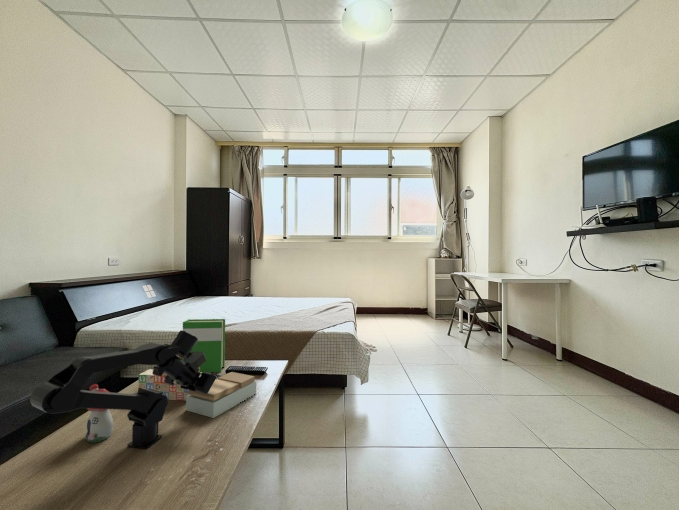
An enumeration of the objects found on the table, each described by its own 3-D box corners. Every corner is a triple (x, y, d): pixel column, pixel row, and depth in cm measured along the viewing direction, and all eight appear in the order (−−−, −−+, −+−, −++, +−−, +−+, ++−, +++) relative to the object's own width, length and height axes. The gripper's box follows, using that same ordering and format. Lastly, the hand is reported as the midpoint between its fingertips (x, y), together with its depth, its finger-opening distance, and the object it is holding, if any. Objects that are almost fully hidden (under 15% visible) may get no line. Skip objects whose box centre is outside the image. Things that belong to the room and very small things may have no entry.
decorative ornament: (83, 434, 98) (84, 384, 98) (109, 426, 102) (110, 379, 103) (87, 447, 91) (88, 393, 91) (115, 438, 96) (116, 387, 96)
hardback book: (224, 367, 160) (225, 318, 161) (220, 372, 153) (221, 321, 153) (187, 368, 158) (188, 319, 158) (181, 373, 151) (182, 322, 151)
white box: (213, 418, 108) (213, 397, 108) (186, 410, 114) (186, 390, 114) (256, 393, 128) (256, 376, 128) (231, 388, 134) (231, 371, 134)
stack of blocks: (137, 398, 123) (138, 366, 124) (148, 392, 130) (149, 361, 130) (191, 401, 122) (191, 368, 122) (199, 394, 128) (200, 363, 128)
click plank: (213, 400, 109) (213, 394, 109) (188, 394, 114) (188, 388, 114) (238, 389, 120) (238, 383, 120) (214, 383, 125) (214, 378, 125)
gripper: (211, 349, 104) (236, 371, 114) (172, 343, 112) (198, 364, 122) (191, 382, 97) (219, 403, 107) (150, 373, 105) (180, 393, 115)
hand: (204, 389), depth 113 cm, fingers closed, pressing on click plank
